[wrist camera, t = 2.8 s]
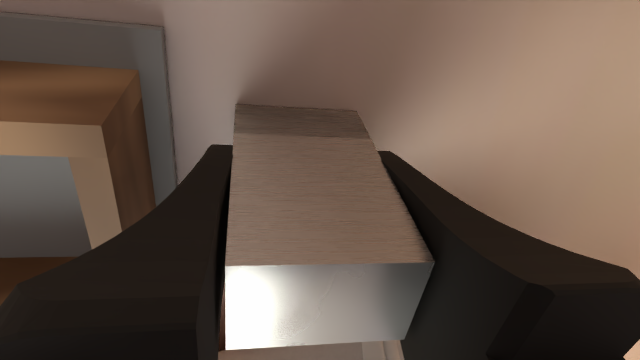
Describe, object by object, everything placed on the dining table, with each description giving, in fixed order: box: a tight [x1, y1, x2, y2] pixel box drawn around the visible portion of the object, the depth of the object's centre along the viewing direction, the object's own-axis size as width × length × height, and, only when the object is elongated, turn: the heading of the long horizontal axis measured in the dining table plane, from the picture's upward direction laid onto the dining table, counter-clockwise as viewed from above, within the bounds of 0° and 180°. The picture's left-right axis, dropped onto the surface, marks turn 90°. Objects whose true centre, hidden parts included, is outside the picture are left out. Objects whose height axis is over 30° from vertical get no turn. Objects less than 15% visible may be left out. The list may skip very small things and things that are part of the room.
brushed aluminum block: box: [225, 104, 435, 350], centre depth 11 cm, size 4×4×7 cm
